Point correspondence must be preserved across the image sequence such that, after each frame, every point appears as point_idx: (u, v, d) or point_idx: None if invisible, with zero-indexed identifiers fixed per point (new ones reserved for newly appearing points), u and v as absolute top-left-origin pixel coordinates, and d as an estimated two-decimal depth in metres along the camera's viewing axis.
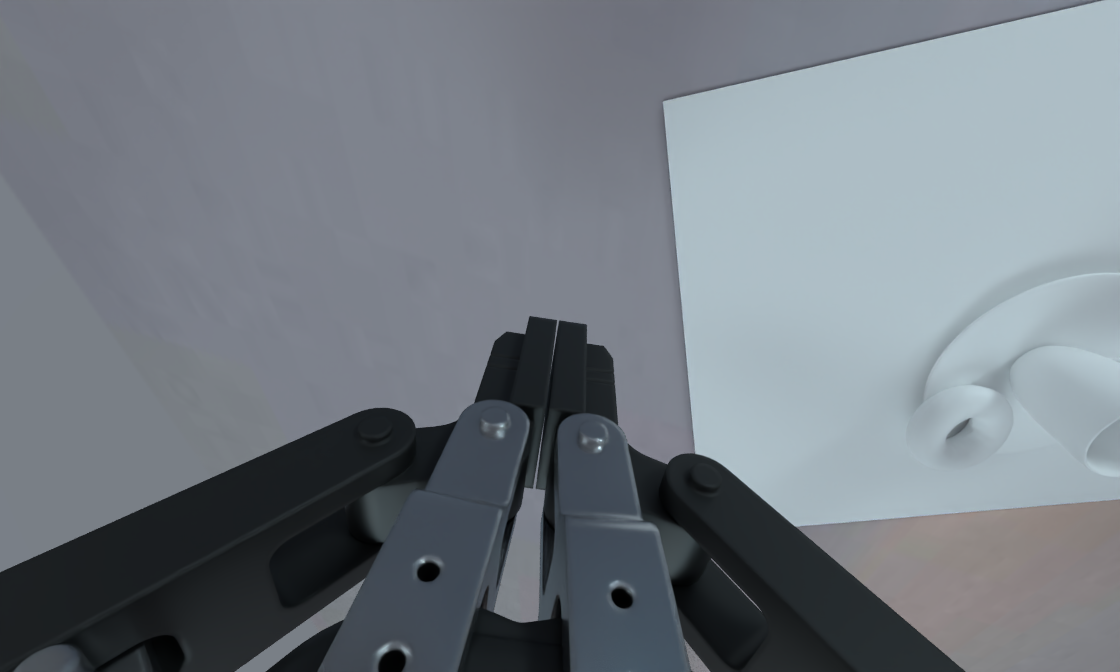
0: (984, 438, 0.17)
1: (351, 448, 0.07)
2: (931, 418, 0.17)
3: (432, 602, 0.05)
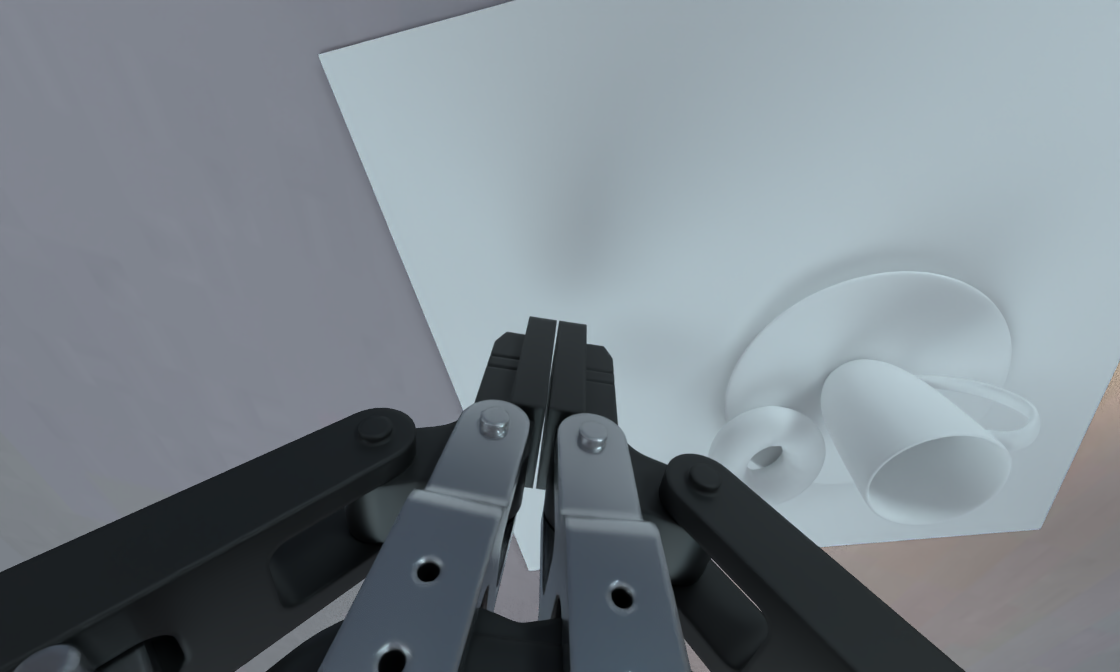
0: (793, 469, 0.14)
1: (352, 447, 0.07)
2: (724, 446, 0.14)
3: (432, 602, 0.05)
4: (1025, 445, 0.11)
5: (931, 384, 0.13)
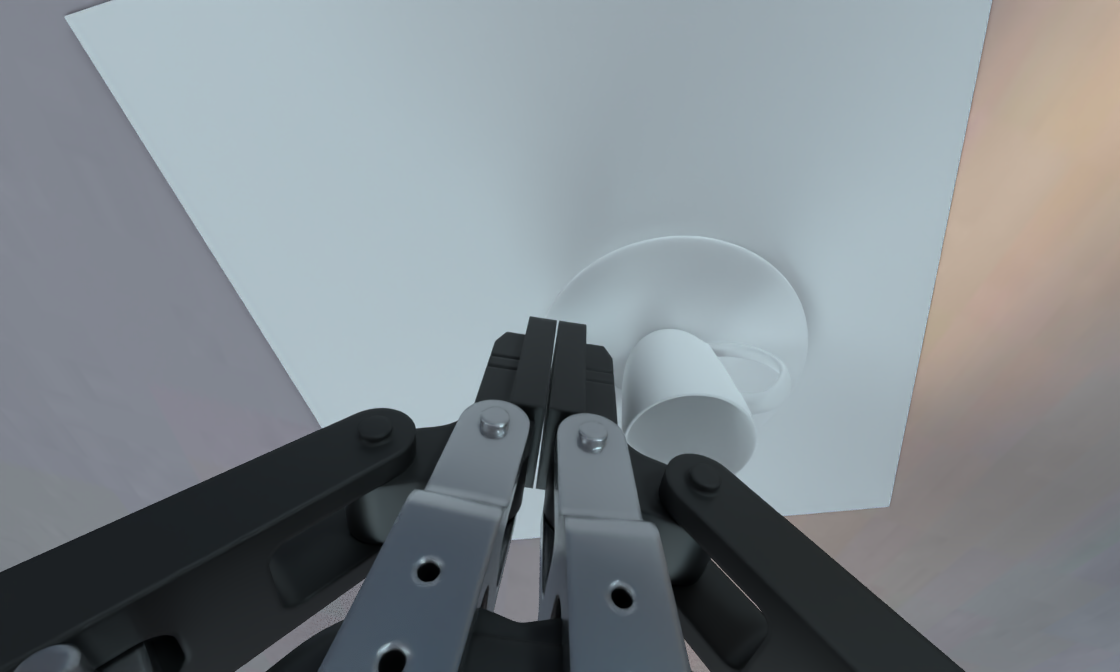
0: None
1: (352, 447, 0.07)
2: None
3: (432, 602, 0.05)
4: (771, 406, 0.11)
5: (722, 352, 0.13)
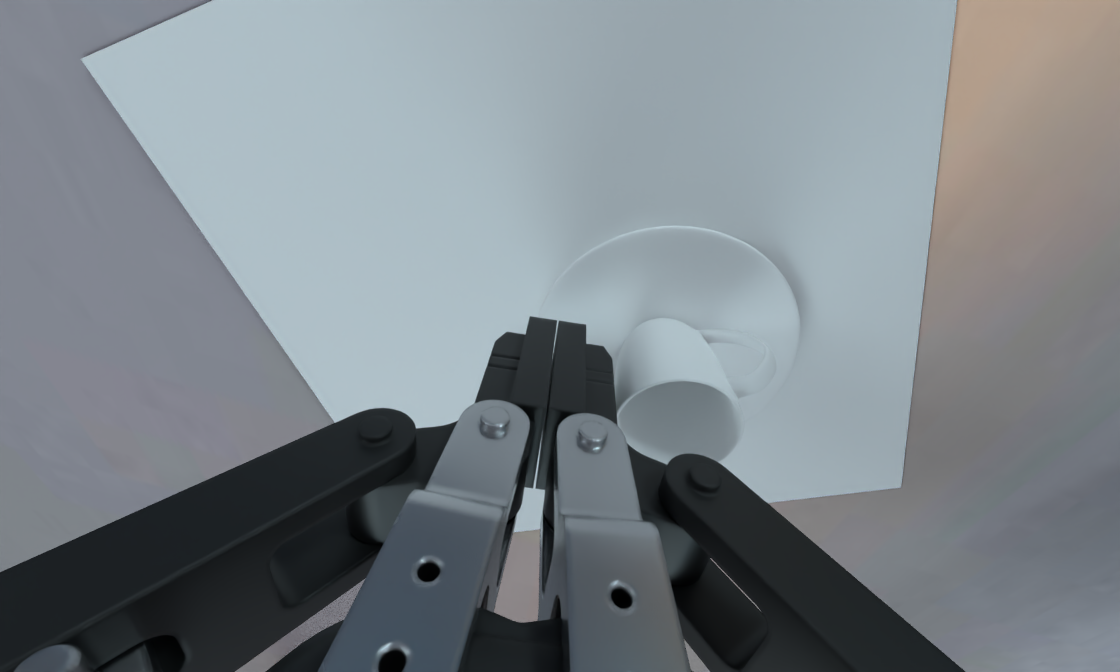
0: None
1: (352, 447, 0.07)
2: None
3: (432, 602, 0.05)
4: (756, 389, 0.11)
5: (712, 338, 0.13)
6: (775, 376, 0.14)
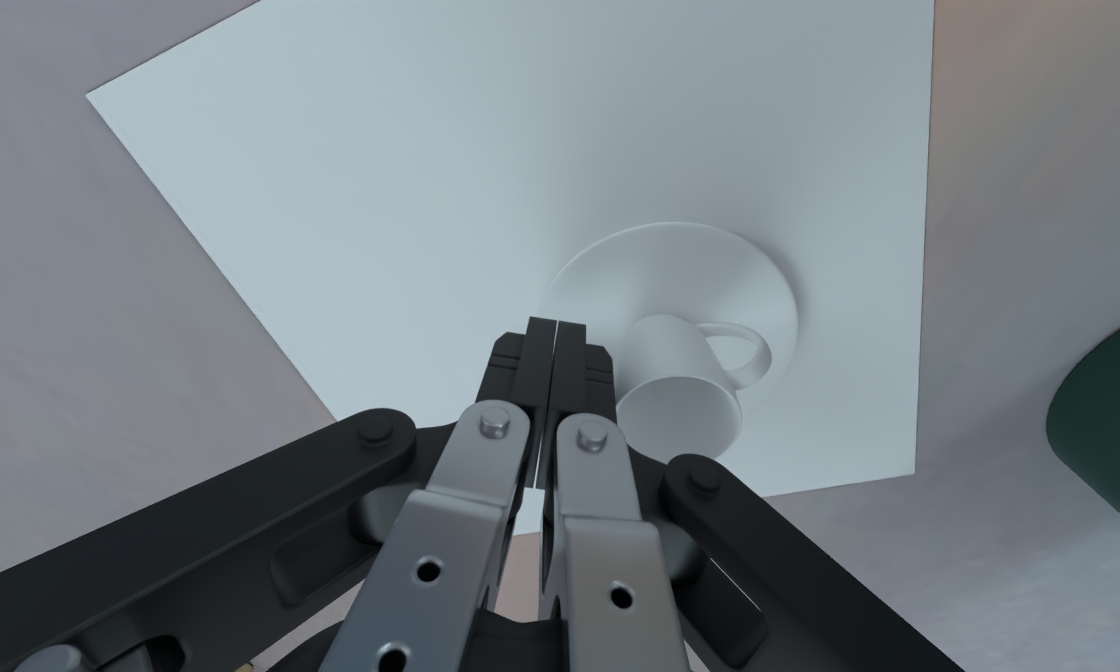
0: None
1: (351, 448, 0.07)
2: None
3: (432, 602, 0.05)
4: (752, 381, 0.11)
5: (709, 332, 0.13)
6: (776, 367, 0.14)
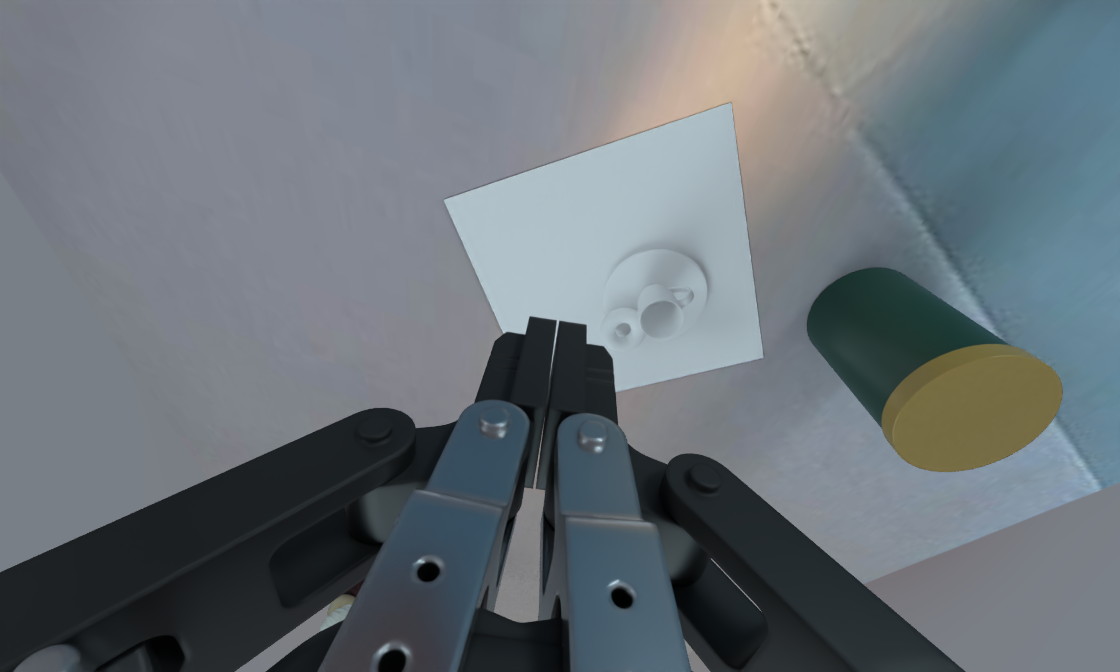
0: (633, 332, 0.36)
1: (352, 448, 0.07)
2: (603, 325, 0.36)
3: (432, 602, 0.05)
4: (687, 303, 0.32)
5: (673, 290, 0.34)
6: (700, 306, 0.36)
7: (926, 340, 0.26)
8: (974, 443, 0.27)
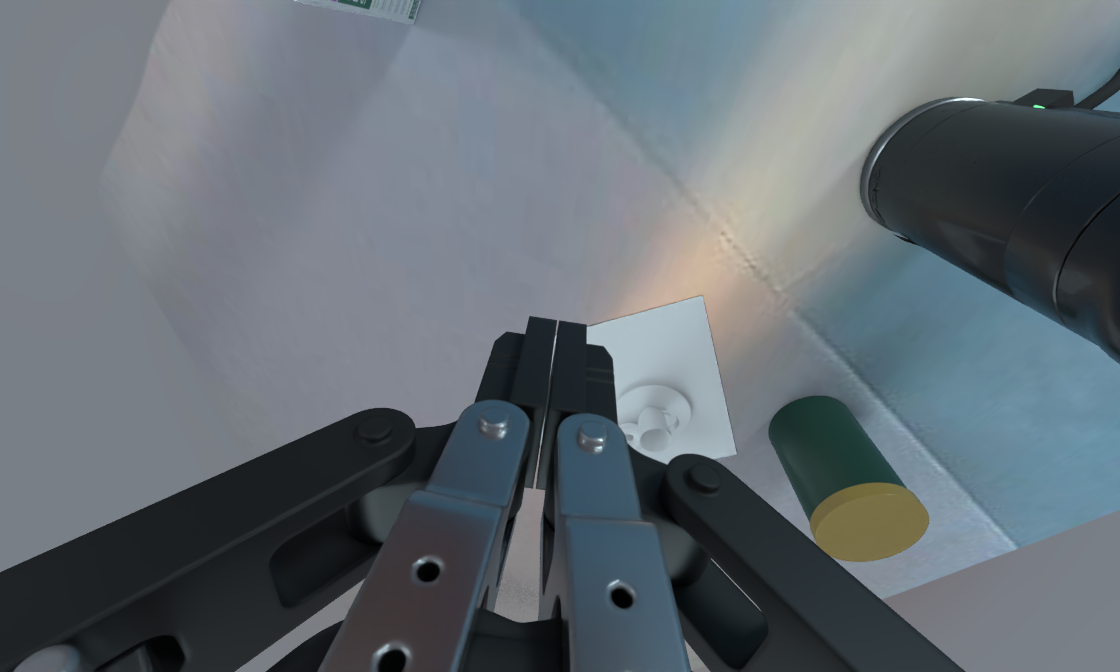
0: (635, 441, 0.48)
1: (352, 447, 0.07)
2: None
3: (432, 602, 0.05)
4: (674, 429, 0.44)
5: (665, 413, 0.46)
6: (686, 421, 0.47)
7: (838, 473, 0.38)
8: (874, 544, 0.38)
